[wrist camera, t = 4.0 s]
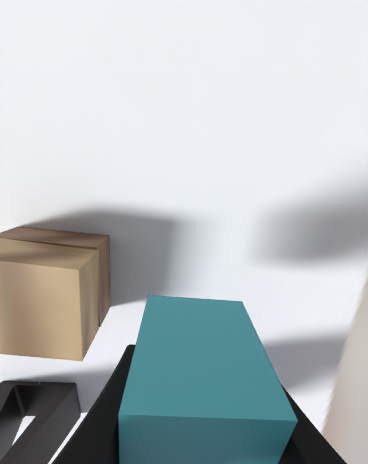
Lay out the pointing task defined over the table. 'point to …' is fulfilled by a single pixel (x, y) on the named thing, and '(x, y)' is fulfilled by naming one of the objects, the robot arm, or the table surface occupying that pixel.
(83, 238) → the tower base
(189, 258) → the table surface
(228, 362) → the teal cube
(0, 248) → the tower top
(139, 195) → the table surface
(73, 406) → the phone stand
